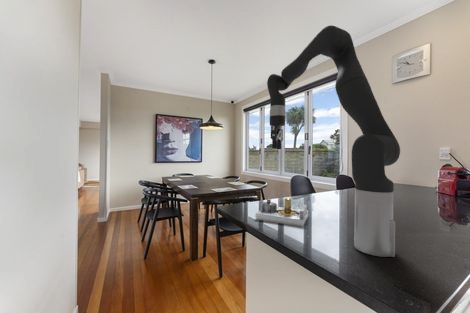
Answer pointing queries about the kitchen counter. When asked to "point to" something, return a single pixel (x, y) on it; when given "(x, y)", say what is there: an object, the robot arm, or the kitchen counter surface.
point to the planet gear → (287, 208)
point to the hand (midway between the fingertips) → (276, 148)
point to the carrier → (271, 214)
